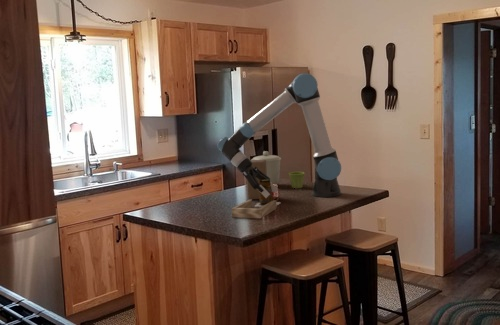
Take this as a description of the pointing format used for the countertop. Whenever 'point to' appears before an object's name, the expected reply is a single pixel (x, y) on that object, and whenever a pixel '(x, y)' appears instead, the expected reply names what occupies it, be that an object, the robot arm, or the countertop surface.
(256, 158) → the canister
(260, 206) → the trivet
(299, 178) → the plant pot
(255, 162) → the block
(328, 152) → the robot arm
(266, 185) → the condiment
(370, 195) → the countertop surface
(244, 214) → the open wooden frame
